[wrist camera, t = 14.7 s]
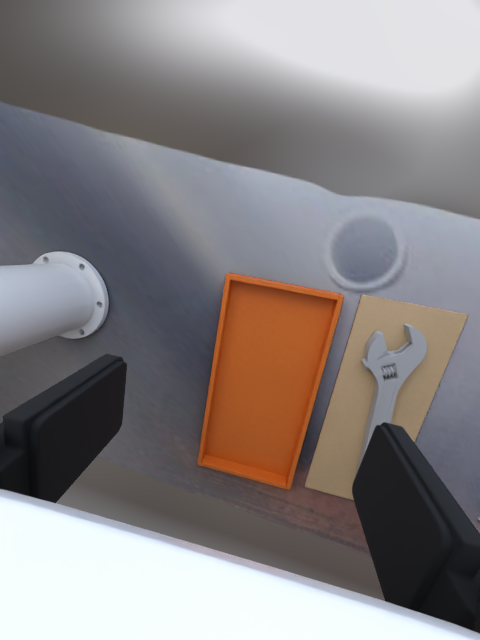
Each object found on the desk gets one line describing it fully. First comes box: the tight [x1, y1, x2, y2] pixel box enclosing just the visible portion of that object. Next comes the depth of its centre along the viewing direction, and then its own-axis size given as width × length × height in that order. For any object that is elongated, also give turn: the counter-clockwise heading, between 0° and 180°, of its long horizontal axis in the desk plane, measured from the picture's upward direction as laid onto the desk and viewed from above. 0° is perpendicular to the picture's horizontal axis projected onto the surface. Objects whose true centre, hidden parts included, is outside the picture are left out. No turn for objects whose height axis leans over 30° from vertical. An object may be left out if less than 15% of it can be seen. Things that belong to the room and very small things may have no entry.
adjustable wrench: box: [355, 324, 427, 477], centre depth 35 cm, size 25×6×2 cm, turn 173°
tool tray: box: [197, 273, 344, 490], centre depth 37 cm, size 14×29×2 cm, turn 170°
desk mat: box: [305, 294, 468, 500], centre depth 36 cm, size 12×30×1 cm, turn 170°
